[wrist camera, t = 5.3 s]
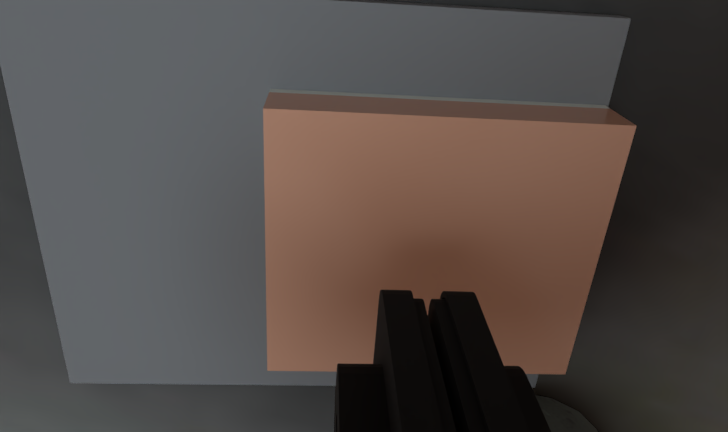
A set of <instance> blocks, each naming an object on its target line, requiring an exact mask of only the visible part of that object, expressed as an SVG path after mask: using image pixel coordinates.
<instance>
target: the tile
mask: <svg viewBox="0 0 728 432" xmlns="http://www.w3.org/2000/svg"><path fill="white" fill-rule="evenodd" d="M636 127H637V126H636V125H635V124H633V123H632V122H630V121H629V120H627V119H626V118H624V117H622V116H621V115H619V114H618V113H616V112H615V111H613V110H612V109H610V108H609V107H607V106H606V105H591V104H571V103H550V102H530V101H509V100H489V99H469V98H448V97H428V96H408V95H387V94H367V93H346V92H326V91H306V90H285V89H270V91H269V94H268V96H267V99H266V102H265V105H264V107H263V134H264V195H265V257H266V319H267V371H328V372H337V364H338V363H340V364H373V358H374V347H375V336H376V325H377V314H378V303H379V294H380V290H411V291H412V294H413V298H419V299H423V300H424V303H425V307H426V311H427V315H428V310H429V304H430V301H431V299H440V296H441V293H442V292H443V291H464V292H474V293H475V295H476V296H477V299H478V302H479V304H480V307H481V309H482V312H483V314H484V317H485V319H486V322H487V324H488V327H489V329H490V332H491V335H492V337H493V340H494V342H495V345H496V347H497V350H498V352H499V355H500V357H501V360H502V362H503V365H504V366H519V367H521V368H522V369H523V370H524V372H525V374H566V370H567V367H568V363H569V360H570V356H571V353H572V349H573V346H574V342H575V339H576V335H577V332H578V328H579V325H580V321H581V318H582V314H583V311H584V308H585V304H586V301H587V297H588V294H589V290H590V287H591V283H592V280H593V276H594V273H595V269H596V266H597V262H598V259H599V255H600V252H601V248H602V245H603V241H604V238H605V234H606V231H607V227H608V224H609V221H610V217H611V214H612V210H613V207H614V203H615V200H616V196H617V193H618V189H619V186H620V182H621V179H622V175H623V172H624V168H625V165H626V161H627V158H628V154H629V151H630V147H631V144H632V141H633V137H634V134H635V130H636Z"/></svg>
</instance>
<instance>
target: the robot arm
mask: <svg viewBox="0 0 728 432" xmlns="http://www.w3.org/2000/svg"><path fill="white" fill-rule="evenodd" d="M334 432H551V430H550V428H549V426H548V423H547V421H546V419H545V417H544V414H543V412H542V410H541V407H540V405H539V403H538V400H537V398H536V396H535V394H534V391H533V389H532V387H531V384H530V382H529V380H528V378H527V375H526V374H525V372H524V370H523V369H522V368H521V367H519V366H504V365H503V362H502V360H501V357H500V355H499V352H498V350H497V347H496V345H495V342H494V340H493V337H492V335H491V332H490V329H489V327H488V324H487V322H486V319H485V317H484V314H483V312H482V309H481V307H480V304H479V302H478V299H477V296H476V295H475V293H474V292H464V291H443V292H442V293H441V296H440V299H431V301H430V304H429V310H428V315H427V311H426V307H425V303H424V300H423V299H419V298H413V294H412V291H411V290H380V294H379V303H378V314H377V325H376V336H375V347H374V358H373V364H340V363H338V364H337V374H336V391H335V417H334Z"/></svg>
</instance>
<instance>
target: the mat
mask: <svg viewBox="0 0 728 432" xmlns="http://www.w3.org/2000/svg"><path fill="white" fill-rule="evenodd" d="M630 21H631V18H628V17H624V16H620V15H604V14H588V13H571V12H555V11H539V10H523V9H506V8H490V7H474V6H458V5H441V4H425V3H409V2H393V1H376V0H0V66H1V70H2V75H3V79H4V84H5V89H6V93H7V98H8V102H9V107H10V111H11V116H12V120H13V125H14V130H15V134H16V139H17V143H18V148H19V152H20V157H21V162H22V166H23V171H24V175H25V180H26V184H27V189H28V193H29V198H30V203H31V207H32V212H33V216H34V221H35V225H36V230H37V234H38V239H39V244H40V248H41V253H42V257H43V262H44V266H45V271H46V276H47V280H48V285H49V289H50V294H51V298H52V303H53V307H54V312H55V317H56V321H57V326H58V330H59V335H60V339H61V344H62V349H63V353H64V358H65V362H66V367H67V371H68V376H69V380H70V383H109V384H205V385H302V386H336V374H337V372H328V371H267V319H266V257H265V195H264V134H263V107H264V105H265V102H266V99H267V96H268V94H269V91H270V89H285V90H306V91H326V92H346V93H367V94H387V95H408V96H428V97H448V98H469V99H489V100H509V101H530V102H550V103H571V104H591V105H606V106H607V107H608V106H609V102H610V98H611V94H612V90H613V87H614V83H615V79H616V75H617V71H618V67H619V64H620V60H621V56H622V52H623V48H624V44H625V40H626V37H627V33H628V29H629V25H630ZM526 375H527V378H528V380H529V382H530V384H531V387H532V388H535V386H536V382H537V379H538V375H539V374H526Z"/></svg>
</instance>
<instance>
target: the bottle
mask: <svg viewBox="0 0 728 432" xmlns="http://www.w3.org/2000/svg"><path fill="white" fill-rule="evenodd" d="M535 396H536V398H537V400H538V403H539V405H540V407H541V410H542V412H543V414H544V417H545V419H546V421H547V423H548V426H549V428H550V430H551V432H599V431H598V430H597V429H596V428H595V427H594V426H593V425H592V424H591V423H590V422H589V421H588V420H587V419H586V418H585V417H584V416H583V415H582V414H581V413H580V412H579V411H577V410H575V409H573V408H571V407H569V406H567V405H565V404H562V403H560V402H558V401H556V400H554V399H552V398H549V397H543V396H537V395H535Z"/></svg>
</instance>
